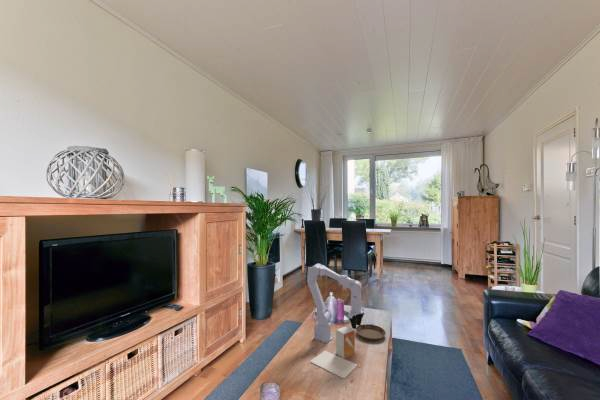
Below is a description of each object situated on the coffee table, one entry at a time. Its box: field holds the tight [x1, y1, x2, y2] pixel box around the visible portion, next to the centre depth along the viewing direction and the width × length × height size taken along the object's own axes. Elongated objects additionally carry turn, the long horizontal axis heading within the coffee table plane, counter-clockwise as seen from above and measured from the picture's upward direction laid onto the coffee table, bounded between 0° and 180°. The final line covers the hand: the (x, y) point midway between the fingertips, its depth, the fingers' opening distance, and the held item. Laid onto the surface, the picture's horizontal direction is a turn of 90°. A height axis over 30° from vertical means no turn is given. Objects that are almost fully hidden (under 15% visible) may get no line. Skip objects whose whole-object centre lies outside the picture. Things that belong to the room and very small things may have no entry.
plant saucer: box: [355, 323, 387, 342], centre depth 163 cm, size 18×18×3 cm
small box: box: [335, 325, 356, 360], centre depth 143 cm, size 8×6×13 cm
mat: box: [309, 350, 358, 380], centre depth 134 cm, size 20×13×1 cm, turn 49°
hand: (356, 326), depth 152 cm, fingers open, 5 cm apart
